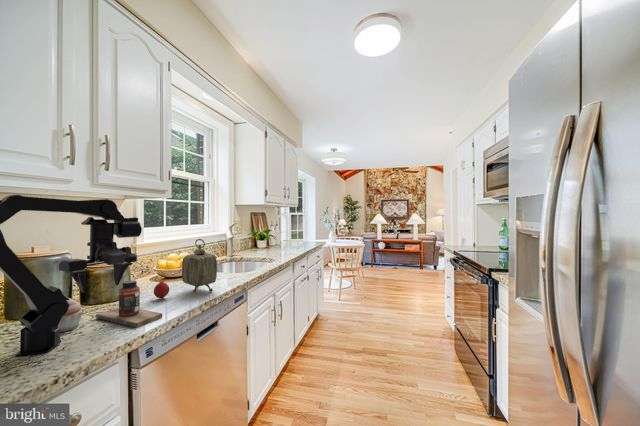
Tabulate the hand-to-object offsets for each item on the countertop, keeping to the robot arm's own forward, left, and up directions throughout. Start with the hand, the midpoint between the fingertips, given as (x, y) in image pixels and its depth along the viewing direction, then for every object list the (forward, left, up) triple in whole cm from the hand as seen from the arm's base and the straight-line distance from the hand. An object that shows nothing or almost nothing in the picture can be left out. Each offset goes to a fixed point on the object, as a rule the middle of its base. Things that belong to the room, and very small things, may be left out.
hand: (101, 288), depth 83 cm
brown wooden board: (+5, +9, -13) cm, 17 cm away
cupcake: (-11, +5, -13) cm, 18 cm away
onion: (+11, +29, -13) cm, 34 cm away
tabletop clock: (+25, +36, -13) cm, 46 cm away
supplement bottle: (+5, +8, -12) cm, 15 cm away
